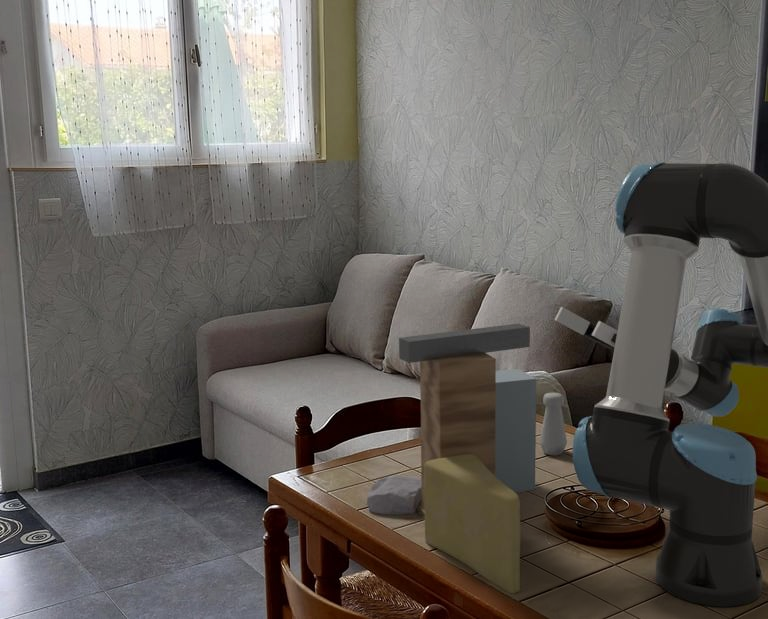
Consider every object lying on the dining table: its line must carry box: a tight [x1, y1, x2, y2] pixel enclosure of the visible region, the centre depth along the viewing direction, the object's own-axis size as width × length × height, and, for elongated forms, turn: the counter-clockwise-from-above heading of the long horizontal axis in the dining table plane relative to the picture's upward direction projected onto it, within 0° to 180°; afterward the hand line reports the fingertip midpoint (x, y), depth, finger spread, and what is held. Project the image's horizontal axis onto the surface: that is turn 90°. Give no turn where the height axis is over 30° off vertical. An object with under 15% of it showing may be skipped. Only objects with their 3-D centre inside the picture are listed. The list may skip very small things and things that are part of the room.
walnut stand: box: [417, 353, 497, 520], centre depth 158 cm, size 11×11×30 cm
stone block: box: [366, 475, 422, 516], centre depth 169 cm, size 12×5×10 cm
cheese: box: [424, 454, 521, 594], centre depth 143 cm, size 22×10×15 cm, turn 23°
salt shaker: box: [538, 392, 568, 457], centre depth 193 cm, size 6×6×13 cm
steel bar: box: [398, 323, 531, 364], centre depth 157 cm, size 4×24×4 cm, turn 115°
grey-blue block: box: [495, 368, 537, 494], centre depth 174 cm, size 8×14×22 cm, turn 107°
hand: (576, 320), depth 159 cm, fingers open, 13 cm apart
